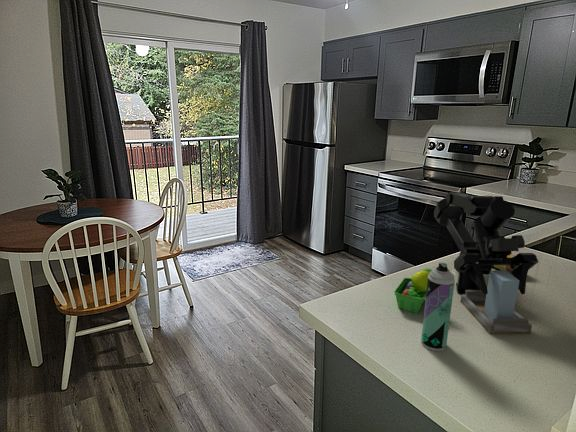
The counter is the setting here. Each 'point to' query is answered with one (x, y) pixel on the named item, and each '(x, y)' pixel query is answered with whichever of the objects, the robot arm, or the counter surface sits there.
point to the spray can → (437, 308)
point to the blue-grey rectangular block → (501, 295)
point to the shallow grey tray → (515, 325)
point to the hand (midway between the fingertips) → (504, 294)
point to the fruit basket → (412, 291)
